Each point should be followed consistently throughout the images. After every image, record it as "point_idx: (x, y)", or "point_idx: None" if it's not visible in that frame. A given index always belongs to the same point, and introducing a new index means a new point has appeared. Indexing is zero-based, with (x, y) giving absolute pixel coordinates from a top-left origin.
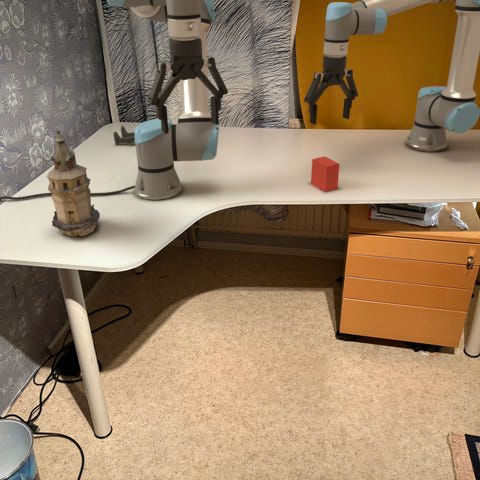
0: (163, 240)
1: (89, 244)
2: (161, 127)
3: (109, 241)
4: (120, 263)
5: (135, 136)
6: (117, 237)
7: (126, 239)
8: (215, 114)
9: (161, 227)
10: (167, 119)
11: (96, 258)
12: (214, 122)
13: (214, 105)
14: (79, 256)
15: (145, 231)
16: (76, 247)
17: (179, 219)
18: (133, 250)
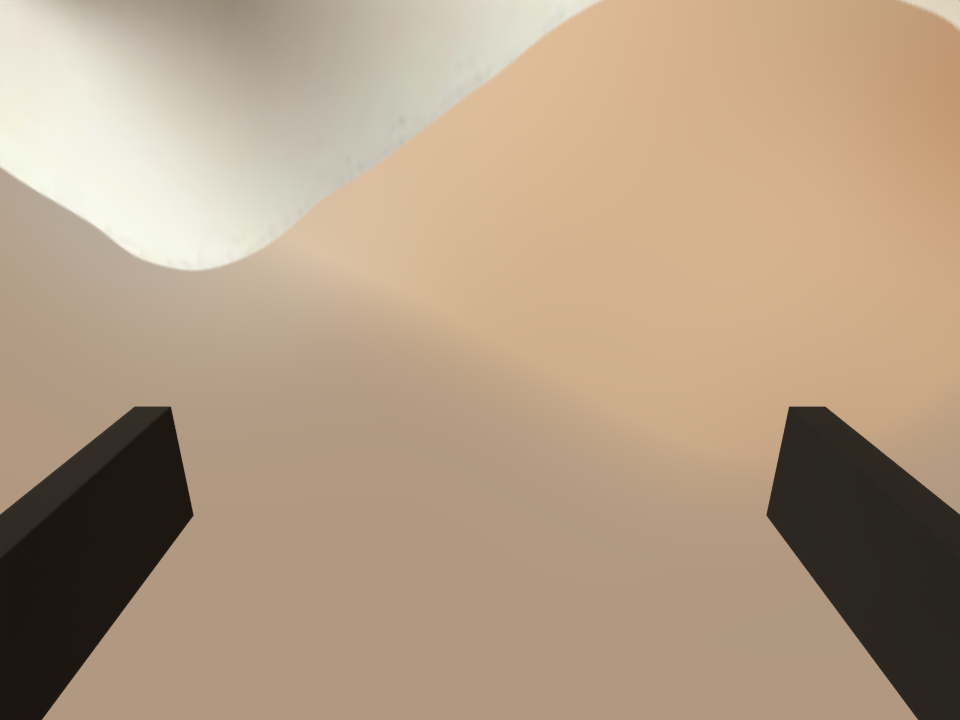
0: (358, 165)
1: (60, 32)
2: (110, 428)
3: (146, 52)
4: (169, 249)
5: None
6: (184, 33)
7: (218, 74)
8: (834, 591)
9: (386, 43)
10: (101, 638)
11: (86, 168)
12: (781, 490)
13: (923, 681)
14: (20, 117)
15: (310, 43)
16: (4, 30)
17: (487, 7)
18: (230, 182)
